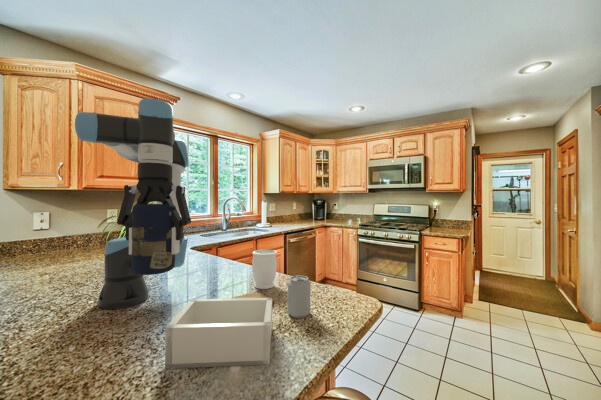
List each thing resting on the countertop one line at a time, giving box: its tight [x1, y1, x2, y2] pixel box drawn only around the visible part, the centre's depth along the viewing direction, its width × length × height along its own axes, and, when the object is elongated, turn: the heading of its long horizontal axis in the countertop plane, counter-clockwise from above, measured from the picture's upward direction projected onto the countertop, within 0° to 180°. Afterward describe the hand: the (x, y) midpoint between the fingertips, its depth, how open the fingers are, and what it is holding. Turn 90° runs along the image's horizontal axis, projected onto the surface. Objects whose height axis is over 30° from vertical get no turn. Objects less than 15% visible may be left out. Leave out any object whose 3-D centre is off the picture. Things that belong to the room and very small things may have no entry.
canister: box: [131, 200, 176, 276], centre depth 63 cm, size 10×10×18 cm
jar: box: [251, 249, 278, 290], centre depth 109 cm, size 11×10×15 cm
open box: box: [164, 297, 273, 370], centre depth 64 cm, size 23×16×9 cm
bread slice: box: [229, 292, 275, 306], centre depth 87 cm, size 18×18×4 cm
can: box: [287, 274, 311, 319], centre depth 83 cm, size 8×8×12 cm
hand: (154, 253), depth 63 cm, fingers closed on canister, 9 cm apart
